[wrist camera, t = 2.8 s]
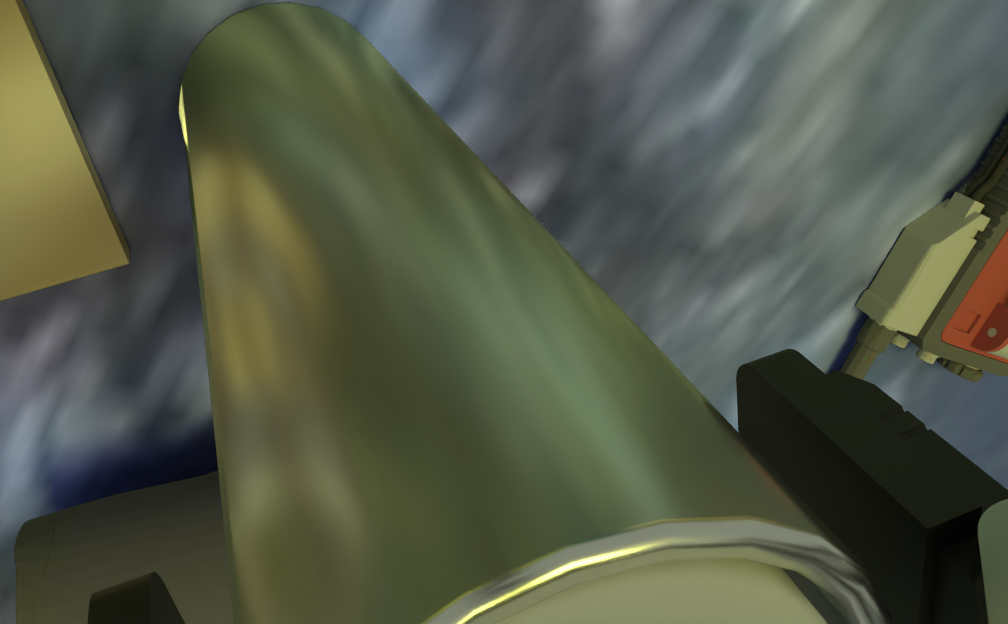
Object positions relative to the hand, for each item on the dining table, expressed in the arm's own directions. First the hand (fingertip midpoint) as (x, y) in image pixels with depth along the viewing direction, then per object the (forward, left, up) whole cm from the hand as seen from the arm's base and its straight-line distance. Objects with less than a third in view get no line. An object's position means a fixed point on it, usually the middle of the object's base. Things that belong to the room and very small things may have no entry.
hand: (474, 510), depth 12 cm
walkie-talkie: (+15, +26, -20) cm, 36 cm away
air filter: (0, 0, -20) cm, 20 cm away
